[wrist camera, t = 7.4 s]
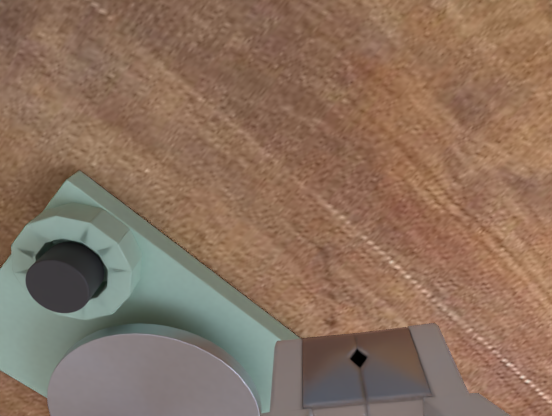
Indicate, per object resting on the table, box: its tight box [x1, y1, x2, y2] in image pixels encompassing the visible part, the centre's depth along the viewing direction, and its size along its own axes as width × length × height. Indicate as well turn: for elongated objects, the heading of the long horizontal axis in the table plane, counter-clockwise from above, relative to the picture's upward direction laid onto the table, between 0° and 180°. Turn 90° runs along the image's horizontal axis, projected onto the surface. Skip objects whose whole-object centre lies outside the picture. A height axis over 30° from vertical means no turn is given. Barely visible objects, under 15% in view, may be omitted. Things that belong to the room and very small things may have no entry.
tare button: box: [25, 242, 104, 313], centre depth 20 cm, size 3×3×2 cm
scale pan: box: [47, 323, 262, 416], centre depth 24 cm, size 12×12×1 cm
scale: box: [0, 171, 301, 413], centre depth 25 cm, size 18×14×3 cm
